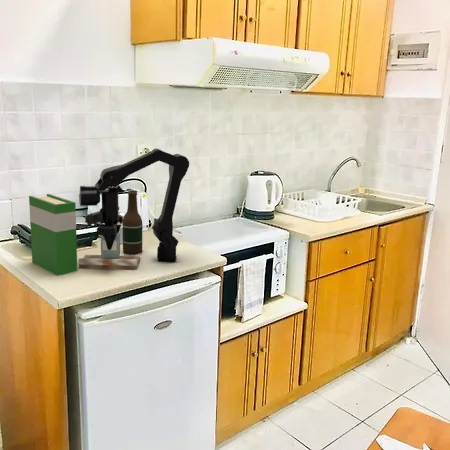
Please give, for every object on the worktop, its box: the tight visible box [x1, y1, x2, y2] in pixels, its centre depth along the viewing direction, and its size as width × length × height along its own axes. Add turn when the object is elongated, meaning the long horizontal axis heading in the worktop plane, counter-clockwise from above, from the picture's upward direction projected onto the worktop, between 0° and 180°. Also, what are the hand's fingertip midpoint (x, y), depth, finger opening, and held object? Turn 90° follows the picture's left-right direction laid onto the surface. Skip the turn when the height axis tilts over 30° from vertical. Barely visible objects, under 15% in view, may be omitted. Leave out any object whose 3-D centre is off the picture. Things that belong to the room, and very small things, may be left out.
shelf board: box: [77, 254, 141, 271], centre depth 182 cm, size 20×11×4 cm, turn 93°
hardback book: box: [28, 193, 78, 276], centre depth 175 cm, size 18×7×24 cm, turn 47°
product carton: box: [100, 233, 121, 258], centre depth 182 cm, size 5×6×8 cm
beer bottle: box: [122, 190, 143, 256], centre depth 195 cm, size 8×8×24 cm
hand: (110, 247), depth 182 cm, fingers closed on product carton, 5 cm apart
